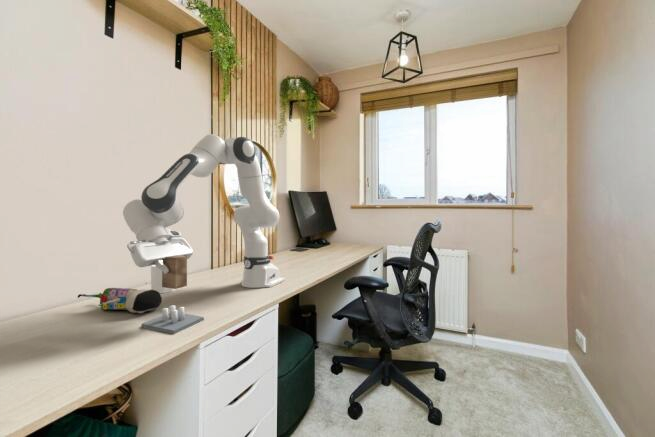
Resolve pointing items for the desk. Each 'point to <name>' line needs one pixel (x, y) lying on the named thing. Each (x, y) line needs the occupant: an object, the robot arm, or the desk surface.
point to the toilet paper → (158, 280)
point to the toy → (128, 299)
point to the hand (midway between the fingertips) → (176, 270)
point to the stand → (172, 320)
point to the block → (175, 272)
